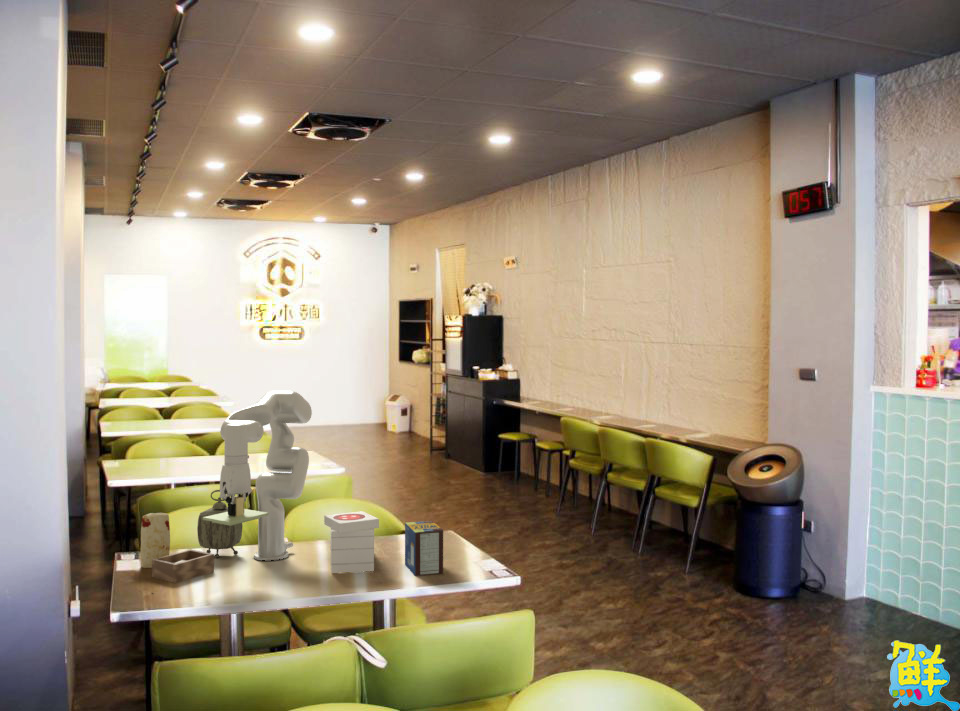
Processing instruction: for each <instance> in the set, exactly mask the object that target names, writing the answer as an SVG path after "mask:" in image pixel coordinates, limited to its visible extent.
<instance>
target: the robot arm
mask: <svg viewBox="0 0 960 711" xmlns="http://www.w3.org/2000/svg"><path fill="white" fill-rule="evenodd" d="M312 412H313V410H312V407H311V404H310V403H309V402H308V400H306V399H305V398H304V397H303V396H302V395H301V394H300V393H298V392H297V391H293V390H271V391H268V392H266V393H265V394H264V395H263V396H262V397H261V398H260V399H259V400H258V401H256V403H255V404H254V405H251V406H247V407H246V408H242V409H240V410H237V411H234V412H232V413H231V414H230V415H229V416H228V417H227V418H226V419H225V420H224V421H223V423H222V424H221V427H220V436H221V438H222V439H223V440H224V464H222V466H221V471H220V478H219V490H220V492H219V493H220V494H219V497H220V498H221V499H224V500H225V501H224V502H225V504H227V507H228V515H231V516H235V515H236V504H234V501H235V496H239V497H244V503H245V502H246V501H247V498H248V497H249V495H251V493H252V492H253V490H252V487H251V486H252V478H251V469H250V463H249V462H248V461H249V460H248V459H250V455H249V454H248V451H249V450H248V449H249V448H248V446H249V444H250V443H258V442H259V441H260V440H261V439H262V438H263V436H264V433H265V432H264V426H267V425H269V427H270V429H271V440H270V444H269V448H268V451H267V455H266V459H265V460H266V461H265V466H266V468H267V469H268V470H269V471H272V472H267V471H266V472H263V473H261V474H259V475H258V476H257V478H256V480H255V490H256V491H255V493H256V498H257V508H258V510H257V511H261V512H267V513H269V515H267V516H263V517H260V518H259V519H257V521H258V522H257V524H258V526H257V527H258V528H257V531H258V532H257V537H258V539H257V540H258V541H257V544H258V545H257V547H258V548H257V549H258V550H257V552H255V553H254V554H253V558H254V559H255V560H257V559H258V560H257V561H262V560H265V561H266V562H270V561H271V560H274V561H279V559H280V560H283V558H284V559H287V558H288V557H289V551H287V549H289V548H292V547H294V543H293V542H292V541H289V542H285V508H284V505H283V503H282V501H281V500H282V499H284V500H285V499H286V500H296V499H298V498H300V497H301V496H302V494H303V491H304V487H305V481H306V477H307V475H308V474H307V473H308V469H309V464H310V463H309V462H310V456H309V452H308V450H307V449H306V448H304V447H300V446H296V447H295V446H294V441H295V435H294V433H293V431H292V430H291V428H290V427H289V426H288V424H302V425H303V424H306V423H308V422H310V420H311V418H312V415H313V413H312ZM248 443H249V444H248ZM230 497H231V498H230ZM280 499H281V500H280ZM271 562H272V561H271Z"/></svg>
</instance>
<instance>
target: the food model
mask: <svg viewBox="0 0 960 711" xmlns="http://www.w3.org/2000/svg"><path fill="white" fill-rule="evenodd" d="M170 527H171V526H170V516H169V514H168V513H166V512H156V513H155V512H150V513H147V514H145V515H143V516H142V517H141V527H140V558H141V562H140V564H141V565H140V566H141V568H146V569H152V559H156V558H160V557H164V556H167V555H170V551H171V550H170V548H171V528H170Z"/></svg>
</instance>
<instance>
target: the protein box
mask: <svg viewBox="0 0 960 711" xmlns="http://www.w3.org/2000/svg"><path fill="white" fill-rule="evenodd" d="M404 532H405V533H404V565H405V566H406V567H407V569H408V570H409V569H410V570H409V571H410V572H411V573H412V574H413V575H414V576H415V577H417V576H419V577H420V576H430V575H439V574H444V529H443V528H441V526H439V525H438V524H437V523H435V521H432V520H425V521H423V520H422V521H411V522H405V523H404Z"/></svg>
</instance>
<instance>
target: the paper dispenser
mask: <svg viewBox="0 0 960 711" xmlns="http://www.w3.org/2000/svg"><path fill="white" fill-rule="evenodd" d="M323 518H324V520H323V521H324V523H323V525H325V526H326V527H329V528H330V546H329V547H330V572H331V573H338V574H340V573H339V572H360V573H364V572H363V571H374V572H375V529H379V528H380V518H378V517H375V516H374V515H371V514H370V513H367V512H365V511H363V510H362V511H361V510H360V511H353V512H352V511H351V512H344V513H343V512H342V513H336V514H325V515H324V516H323Z"/></svg>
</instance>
